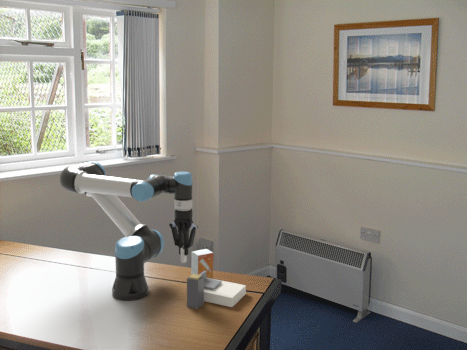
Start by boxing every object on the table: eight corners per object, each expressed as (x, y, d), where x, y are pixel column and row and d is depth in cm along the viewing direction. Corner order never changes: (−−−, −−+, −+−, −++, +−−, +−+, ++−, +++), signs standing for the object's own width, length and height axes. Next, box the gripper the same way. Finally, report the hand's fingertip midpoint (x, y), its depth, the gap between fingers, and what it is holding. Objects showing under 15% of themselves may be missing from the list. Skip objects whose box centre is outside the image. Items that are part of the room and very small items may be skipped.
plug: (186, 306, 213) (186, 277, 210) (192, 301, 217) (193, 272, 215) (197, 309, 211) (198, 279, 208) (203, 304, 215) (203, 274, 213)
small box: (197, 283, 236) (198, 255, 233) (190, 278, 241) (191, 251, 238) (213, 279, 240) (213, 252, 238) (206, 275, 245) (206, 248, 243)
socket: (188, 297, 221) (188, 288, 220) (203, 285, 234) (203, 276, 233) (232, 307, 213) (232, 298, 212) (245, 294, 226) (245, 285, 225)
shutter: (196, 286, 222) (196, 276, 221) (204, 279, 229) (204, 270, 228) (213, 289, 219) (213, 280, 218) (221, 282, 226) (221, 273, 225)
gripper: (165, 208, 222) (166, 262, 227) (192, 212, 217) (192, 267, 221) (174, 204, 229) (175, 256, 233) (201, 208, 223) (201, 261, 228)
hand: (183, 261), depth 227 cm, fingers closed
